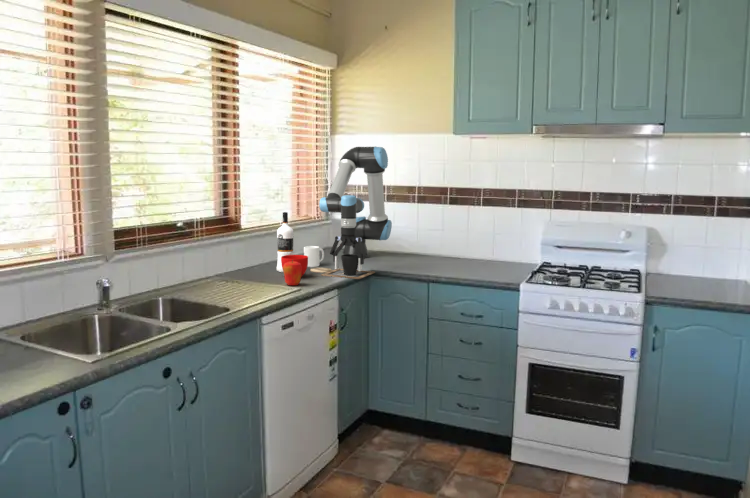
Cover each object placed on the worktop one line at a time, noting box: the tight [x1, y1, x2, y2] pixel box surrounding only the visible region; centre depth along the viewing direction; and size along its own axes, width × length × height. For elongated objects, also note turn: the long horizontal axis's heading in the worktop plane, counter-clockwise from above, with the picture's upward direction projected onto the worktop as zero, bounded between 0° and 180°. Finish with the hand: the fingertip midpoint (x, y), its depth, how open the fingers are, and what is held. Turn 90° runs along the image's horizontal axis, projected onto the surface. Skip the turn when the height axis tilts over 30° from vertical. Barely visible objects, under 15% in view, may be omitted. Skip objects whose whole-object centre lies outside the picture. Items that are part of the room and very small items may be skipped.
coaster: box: [309, 267, 333, 274], centre depth 320 cm, size 11×11×1 cm
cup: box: [303, 245, 325, 268], centre depth 334 cm, size 8×12×10 cm
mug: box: [341, 254, 359, 276], centre depth 311 cm, size 8×12×10 cm
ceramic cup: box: [281, 254, 308, 278], centre depth 303 cm, size 13×17×10 cm
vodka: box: [276, 211, 295, 273], centre depth 315 cm, size 9×9×30 cm
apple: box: [283, 259, 302, 286], centre depth 283 cm, size 9×8×12 cm
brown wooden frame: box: [320, 268, 376, 280], centre depth 311 cm, size 19×21×1 cm
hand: (348, 269), depth 311 cm, fingers open, 12 cm apart
